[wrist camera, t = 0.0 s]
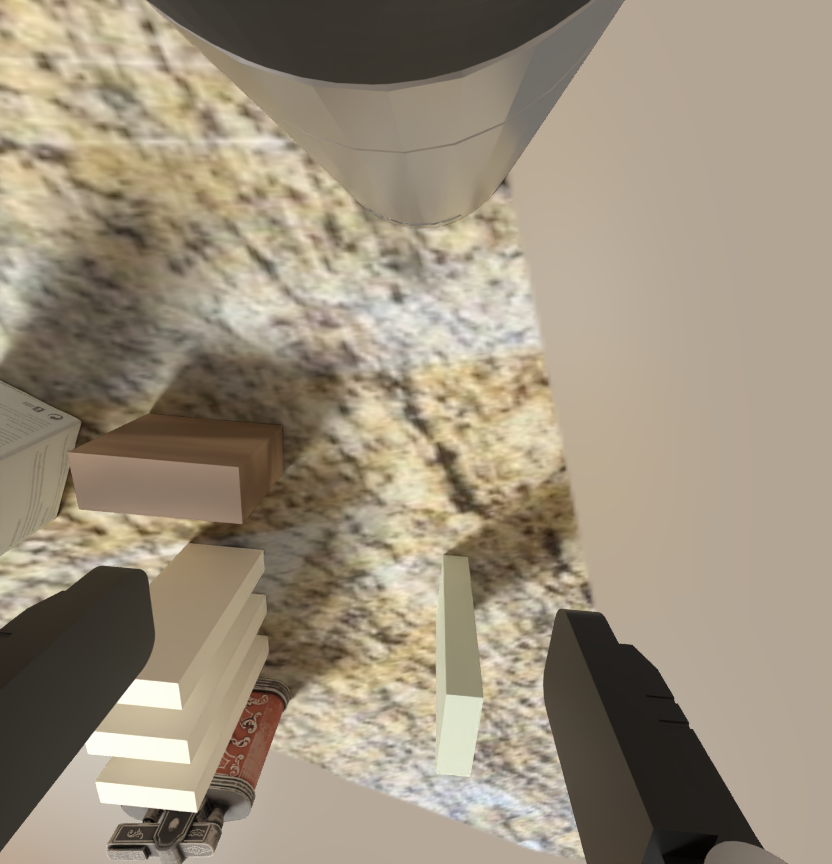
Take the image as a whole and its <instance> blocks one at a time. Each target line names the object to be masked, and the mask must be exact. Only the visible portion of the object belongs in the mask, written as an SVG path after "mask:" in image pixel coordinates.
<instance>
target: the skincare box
mask: <svg viewBox="0 0 832 864" xmlns="http://www.w3.org/2000/svg"><path fill="white" fill-rule="evenodd" d="M80 426H81V421H80V420H79V419H77V418H75V417H73V416H71V415H69V414H67V413H65V412H63V411H60V410H58V409H56V408H54V407H52V406H50V405H48V404H46V403H44V402H42V401H40V400H38V399H36V398H34V397H32V396H31V395H29V394H27V393H25V392H23V391H21V390H19V389H17V388H15V387H12V386H11V385H9V384H6V383H4V382H2V381H0V556H1V555H2V554H4V553H5V552H7V551H8V550H10V549H11V548H13V547H14V546H16V545H17V544H18V543H20V542H21V541H23V540H24V539H26V538H27V537H29V536H30V535H32V534H33V533H35V532H36V531H37V530H39V529H40V528H42V527H43V526H45V525H46V524H48V523H49V522H51V521H52V520H54V519H56V517H57V513H58V510H59V506H60V502H61V498H62V494H63V491H64V487H65V483H66V479H67V475H68V472H69V468H70V464H69V459H68V455H67V452H68V451H70V450H72V449H74V448H75V444H76V439H77V436H78V433H79V429H80Z"/></svg>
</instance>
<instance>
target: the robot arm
mask: <svg viewBox="0 0 832 864" xmlns="http://www.w3.org/2000/svg"><path fill="white" fill-rule="evenodd" d="M146 1H147V2H148V3H149V4H150V5H151V6H152V7H153V8H154V9H155V10H156V11H157V12H158V13H159V14H161V15H162V16H163V17H164V18H165V19H166V20H167V21H168V22H169V23H170V24H171V25H172V26H173V27H174V28H175V29H176V30H177V31H178V32H180V33H181V34H182V35H183V36H184V37H185V38H186V39H187V40H188V41H189V42H190V43H191V44H192V45H193V46H194V47H195V48H196V49H198V50H199V51H200V52H201V53H202V54H203V55H204V56H205V57H206V58H207V59H208V60H209V61H210V62H211V63H212V64H213V65H215V66H216V67H217V68H218V69H219V70H220V71H221V72H222V73H223V74H224V75H225V76H227V77H228V78H229V79H230V80H231V81H232V82H233V83H234V84H235V85H236V86H237V87H238V88H239V89H240V90H241V91H243V92H244V93H245V94H246V95H247V96H248V97H249V98H250V99H251V100H252V101H253V102H254V103H255V104H256V105H257V106H258V107H259V108H260V109H261V110H262V111H264V112H265V113H266V114H267V115H268V116H269V117H270V118H271V119H272V120H273V121H274V122H275V123H276V124H277V125H278V126H279V127H280V128H281V129H282V130H283V131H284V132H286V133H287V134H288V135H289V136H290V137H291V138H292V139H293V140H294V141H295V142H296V143H297V144H298V145H299V146H300V147H301V148H302V149H303V150H304V151H305V152H307V153H308V154H309V155H310V156H311V157H312V158H313V159H314V160H315V161H316V162H317V163H318V164H319V165H320V166H321V167H322V168H323V169H324V170H325V171H326V172H328V173H329V174H330V175H331V176H332V177H333V178H334V179H335V180H336V181H337V182H338V183H339V184H340V185H341V186H342V187H343V188H344V189H345V190H346V191H347V192H348V193H349V194H350V195H352V196H353V197H354V198H355V199H356V200H357V201H358V202H359V203H360V204H361V205H363V206H364V207H365V208H366V209H367V210H368V211H370V212H372V213H373V214H375V215H376V216H377V217H379V218H382V219H384V220H386V221H388V222H391V223H393V224H395V225H399V226H405V227H410V228H415V229H416V228H436V227H439V226H443V225H447V224H450V223H454V222H456V221H458V220H460V219H461V218H463V217H465V216H467V215H469V214H471V213H472V212H474V211H475V210H476V209H477V208H478V207H480V206H481V205H482V204H483V203H484V202H486V201H487V200H488V199H489V198H490V197H491V195H492V194H493V193H494V192H495V190H496V189H497V188H498V186H499V185H500V184H501V183H502V181H503V180H504V179H505V177H506V176H507V174H508V173H509V171H510V170H511V169H512V167H513V165H514V164H515V163H516V161H517V160H518V159H519V157H520V156H521V154H522V153H523V151H524V150H525V148H526V147H527V145H528V144H529V142H530V141H531V139H532V138H533V136H534V135H535V133H536V132H537V130H538V129H539V127H540V126H541V124H542V123H543V122H544V120H545V119H546V117H547V116H548V114H549V113H550V111H551V110H552V108H553V107H554V105H555V104H556V102H557V101H558V99H559V98H560V96H561V95H562V93H563V92H564V90H565V89H566V87H567V86H568V84H569V83H570V81H571V79H572V78H573V77H574V75H575V74H576V73H577V71H578V70H579V68H580V66H581V65H582V64H583V62H584V61H585V59H586V58H587V56H588V55H589V53H590V52H591V50H592V49H593V47H594V46H595V44H596V43H597V41H598V39H599V38H600V37H601V35H602V34H603V32H604V30H605V29H606V27H607V26H608V25H609V23H610V21H611V20H612V18H613V17H614V15H615V14H616V13H617V11H618V9H619V8H620V6H621V5H622V3H623V2H624V0H146ZM154 642H155V627H154V620H153V612H152V605H151V597H150V590H149V582H148V577H147V574H146V573H145V572H144V571H143V570H141V569H133V568H122V567H111V566H99V567H96V568H94V569H93V570H91V571H90V572H89V573H87V574H86V575H85V576H84V577H82V578H81V579H80V580H79V581H77V582H76V583H75V584H74V585H72V586H71V587H70V588H69V589H67V590H66V591H61V592H59V593H57V594H55V595H53V596H51V597H49V598H47V599H45V600H43V601H41V602H39V603H37V604H35V605H33V606H31V607H29V608H27V609H26V610H25V611H23V612H22V613H21V614H19V615H18V616H17V617H16V618H14V619H13V620H12V621H10V622H9V623H8V624H6V625H5V626H4V627H3V628H1V629H0V852H1V850H2V849H3V848H4V846H5V845H6V844H7V843H8V841H9V840H10V839H11V838H12V836H13V835H14V834H15V832H16V831H17V830H18V829H19V827H20V826H21V825H22V823H23V822H24V821H25V820H26V818H27V817H28V816H29V814H30V813H31V812H32V811H33V809H34V808H35V807H36V806H37V804H38V803H39V802H40V800H41V799H42V798H43V797H44V795H45V794H46V793H47V791H48V790H49V789H50V788H51V786H52V785H53V784H54V783H55V781H56V780H57V779H58V777H59V776H60V775H61V774H62V772H63V771H64V769H65V768H66V767H67V766H68V764H69V763H70V762H71V761H72V759H73V758H74V757H75V756H76V754H77V753H78V752H79V750H80V749H81V748H82V747H83V745H84V744H85V743H86V742H87V740H88V739H89V738H90V736H91V735H92V734H93V733H94V731H95V730H96V729H97V727H98V726H99V725H100V724H101V722H102V721H103V720H104V719H105V717H106V716H107V715H108V713H109V712H110V711H111V710H112V708H113V707H114V706H115V704H116V703H117V702H118V701H119V699H120V698H121V697H122V695H123V694H124V693H125V692H126V690H127V689H128V688H129V687H130V685H131V684H132V683H133V681H134V680H135V679H136V678H137V676H138V675H139V674H140V672H141V671H142V670H143V668H144V667H145V665H146V664H147V662H148V660H149V658H150V655H151V653H152V650H153V647H154ZM543 689H544V700H545V706H546V711H547V715H548V718H549V722H550V726H551V730H552V734H553V737H554V741H555V745H556V749H557V752H558V756H559V760H560V764H561V768H562V771H563V775H564V779H565V783H566V787H567V790H568V794H569V798H570V802H571V806H572V809H573V813H574V817H575V821H576V824H577V828H578V832H579V836H580V840H581V843H582V847H583V851H584V855H585V859H586V862H587V864H788V863H786V862H785V861H784V860H782V859H780V858H779V857H777V856H775V855H774V854H772V853H770V852H768V851H766V850H765V849H764V848H763V846H762V845H761V843H760V842H759V840H758V839H757V837H756V836H755V834H754V832H753V831H752V829H751V827H750V825H749V824H748V822H747V820H746V819H745V817H744V815H743V814H742V812H741V810H740V808H739V807H738V805H737V803H736V802H735V800H734V799H733V797H732V795H731V793H730V791H729V790H728V788H727V786H726V785H725V783H724V781H723V780H722V778H721V776H720V775H719V773H718V771H717V769H716V768H715V766H714V764H713V763H712V761H711V759H710V757H709V756H708V755H707V753H706V751H705V749H704V748H703V746H702V744H701V742H700V741H699V739H698V737H697V735H696V734H695V732H694V731H693V729H690V728H689V722H688V720H687V718H686V717H685V715H684V713H683V712H682V710H681V708H680V707H679V705H678V704H676V703H675V701H674V696H673V695H672V693H671V691H670V690H669V688H668V686H667V684H666V683H665V681H664V679H663V678H662V676H661V674H660V673H659V671H658V669H657V668H656V667H655V666H653V665H652V663H651V662H650V661H648V660H647V659H646V658H645V657H644V656H643V655H642V654H641V653H640V652H639V651H638V650H637V649H636V648H635V647H634V646H633V645H628V644H619V643H618V641H617V639H616V637H615V636H614V633H613V632H612V630H611V628H610V626H609V624H608V622H607V620H606V618H605V617H604V616H603V614H601V613H600V612H590V611H579V610H568V609H559V610H558V612H557V614H556V617H555V621H554V626H553V631H552V636H551V641H550V645H549V650H548V655H547V660H546V665H545V670H544V679H543Z"/></svg>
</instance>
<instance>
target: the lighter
mask: <svg viewBox="0 0 832 864" xmlns="http://www.w3.org/2000/svg"><path fill="white" fill-rule="evenodd" d="M289 699H290V691H289V688H288V687H287V686H286V685H285V684H284V683H282V682H281V681H278V680H274V679H265V678H258V679H257V681H256V683H255V685H254V688H253V690H252V692H251V694H250V697H249V699H248V701H247V703H246V705H245V708H244V710H243V712H242V714H241V717H240V719H239V721H238V723H237V726H236V728H235V730H234V732H233V734H232V737H231V739H230V741H229V743H228V746H227V748H226V750H225V752H224V754H223V757H222V759H221V761H220V763H219V766H218V768H217V770H216V772H215V774H214V777H213V779H212V781H211V783H210V786H209V788H208V790H207V792H206V794H205V797H204V799H203V801H202V803H201V806H200V808H199V810H198V812H197V813H195V812H186V811H176V810H167V809H157V808H147V807H138V806H128V805H121V807H122V809H123V810H124V811H125V812H126V813H127V814H128V815H129V816H131V817H133V818H135V819H138V820H142V821H143V823H123V824H119V825H118V827H117V829H116V830H115V832H114V834H113V835H112V837H111V839H110V840H109V842H108V844H107V846H106V849H107V856H108V858H109V859H111V860H115V861H116V860H117V861H120V860H121V861H122V860H123V861H126V860H128V861H131V860H132V861H135V860H136V861H137V860H139V861H140V860H147V859H148V857H160V859H161V861H162V863H163V864H182V863H183V861H184V860H185V859H187V858H188V857H211V856H213V854H214V852H215V849H216V847H217V844H218V842H219V839H220V836H221V834H222V831H221V829H222V826H223V822H227V821H233V820H240V819H243V818H246V817H247V816H248V815H249V813H250V810H251V808H252V805H253V802H254V799H255V791H254V790H255V787H256V785H257V782H258V779H259V776H260V774H261V771H262V768H263V765H264V762H265V759H266V756H267V754H268V751H269V748H270V746H271V743H272V740H273V737H274V734H275V732H276V729H277V726H278V723H279V720H280V718H281V715H282V714H283V713H284V712H285V710H286V708H287V705H288V702H289ZM158 822H159V823H158Z"/></svg>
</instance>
